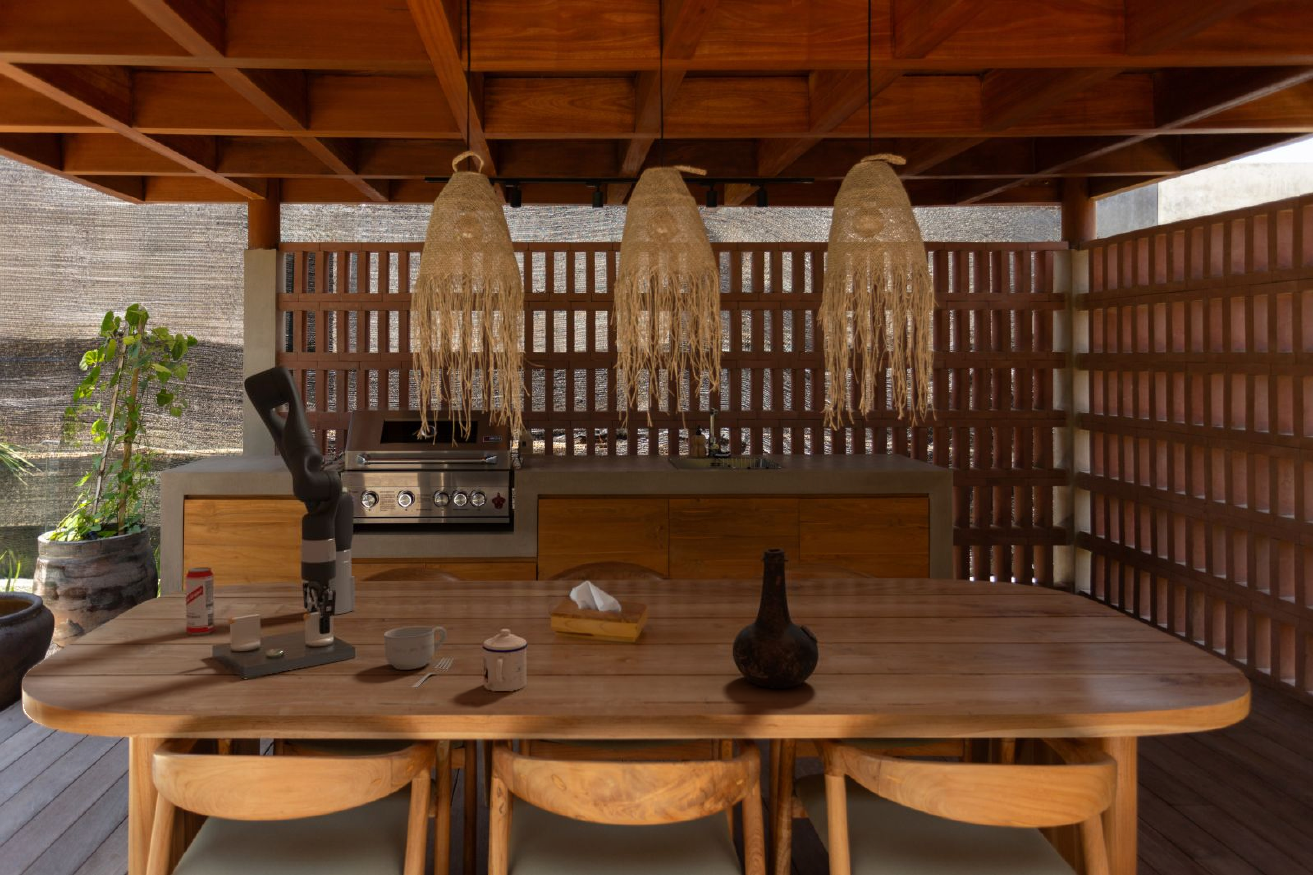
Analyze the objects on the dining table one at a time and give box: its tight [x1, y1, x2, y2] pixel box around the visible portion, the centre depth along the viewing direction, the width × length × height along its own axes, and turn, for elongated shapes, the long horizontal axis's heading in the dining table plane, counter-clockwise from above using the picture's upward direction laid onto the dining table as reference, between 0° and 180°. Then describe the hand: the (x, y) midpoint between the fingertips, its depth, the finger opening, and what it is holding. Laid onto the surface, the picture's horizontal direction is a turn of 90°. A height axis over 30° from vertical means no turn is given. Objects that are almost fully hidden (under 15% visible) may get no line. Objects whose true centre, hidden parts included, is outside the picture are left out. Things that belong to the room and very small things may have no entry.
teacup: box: [383, 625, 448, 670], centre depth 198 cm, size 14×11×8 cm
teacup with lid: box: [482, 628, 528, 692], centre depth 182 cm, size 12×9×12 cm
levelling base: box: [211, 629, 356, 680], centre depth 203 cm, size 24×22×4 cm
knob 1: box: [227, 613, 261, 651], centre depth 201 cm, size 7×6×7 cm
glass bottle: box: [732, 548, 819, 689], centre depth 187 cm, size 18×18×28 cm
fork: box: [411, 657, 454, 688], centre depth 187 cm, size 3×24×2 cm, turn 169°
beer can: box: [185, 566, 216, 636], centre depth 223 cm, size 6×6×16 cm
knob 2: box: [302, 612, 335, 646], centre depth 205 cm, size 7×6×7 cm
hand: (319, 630), depth 205 cm, fingers open, 5 cm apart
